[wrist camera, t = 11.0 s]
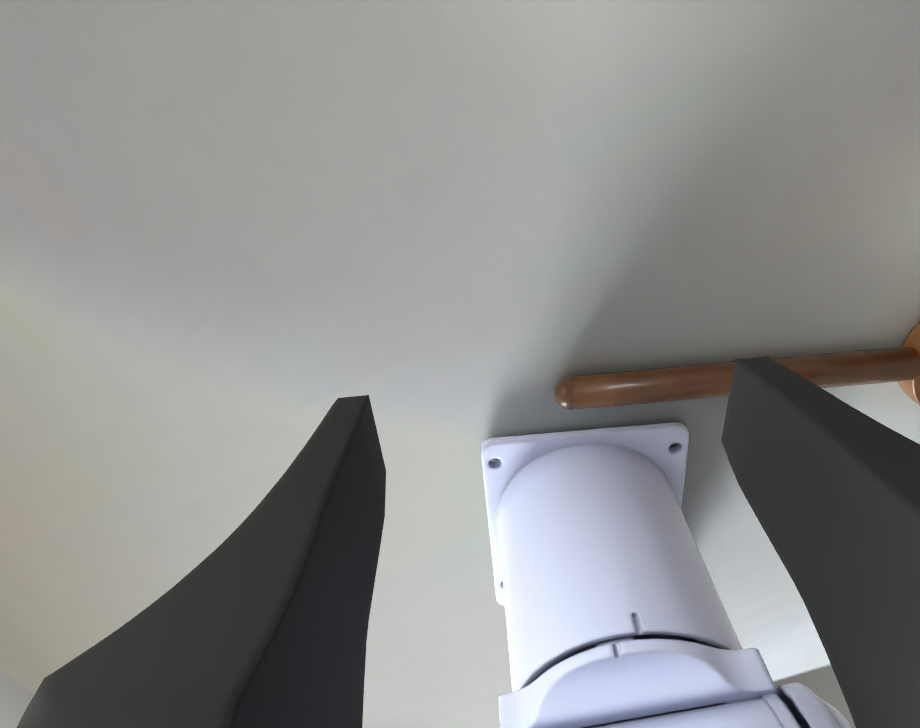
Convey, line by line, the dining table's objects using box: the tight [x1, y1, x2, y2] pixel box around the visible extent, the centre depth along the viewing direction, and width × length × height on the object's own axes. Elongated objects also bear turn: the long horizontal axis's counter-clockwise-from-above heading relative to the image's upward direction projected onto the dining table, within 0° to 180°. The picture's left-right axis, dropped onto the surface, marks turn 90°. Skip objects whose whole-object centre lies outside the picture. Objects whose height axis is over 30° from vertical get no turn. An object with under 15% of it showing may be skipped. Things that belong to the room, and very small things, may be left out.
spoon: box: [555, 322, 920, 410], centre depth 22 cm, size 18×5×1 cm, turn 96°
